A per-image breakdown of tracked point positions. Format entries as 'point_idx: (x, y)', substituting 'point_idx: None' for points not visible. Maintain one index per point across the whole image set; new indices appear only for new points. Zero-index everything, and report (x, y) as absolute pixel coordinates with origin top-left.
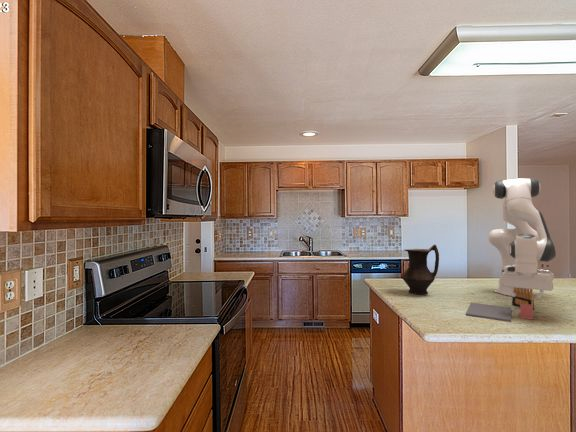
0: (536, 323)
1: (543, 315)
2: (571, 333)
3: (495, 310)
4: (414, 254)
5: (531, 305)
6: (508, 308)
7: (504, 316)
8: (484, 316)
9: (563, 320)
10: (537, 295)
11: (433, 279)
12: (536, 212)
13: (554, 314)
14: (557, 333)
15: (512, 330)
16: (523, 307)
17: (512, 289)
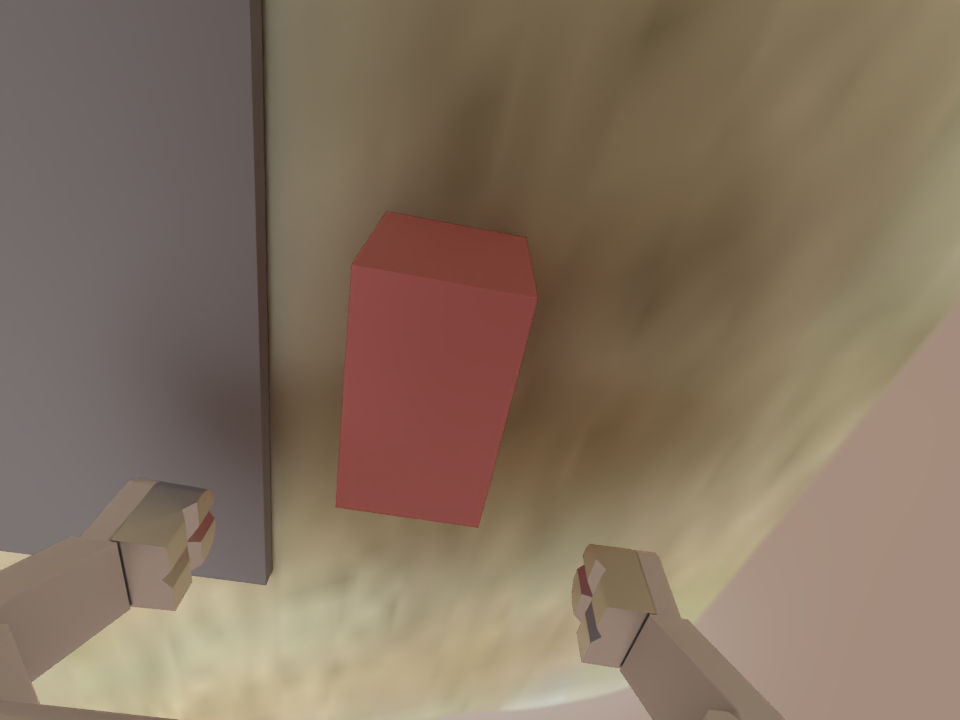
0: (480, 548)
1: (681, 217)
2: None
3: (61, 292)
4: None
5: (515, 365)
6: (210, 71)
7: None
8: (36, 552)
9: (818, 372)
10: (603, 648)
11: None
12: None
13: (901, 78)
14: (556, 690)
15: (286, 711)
16: (372, 510)
17: (32, 702)
